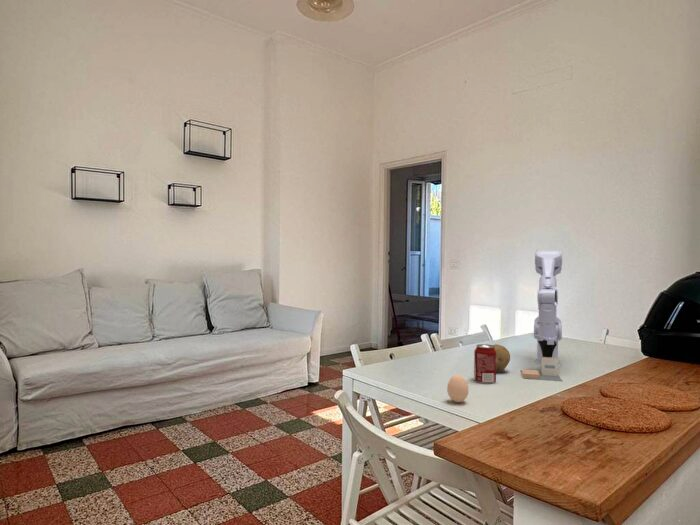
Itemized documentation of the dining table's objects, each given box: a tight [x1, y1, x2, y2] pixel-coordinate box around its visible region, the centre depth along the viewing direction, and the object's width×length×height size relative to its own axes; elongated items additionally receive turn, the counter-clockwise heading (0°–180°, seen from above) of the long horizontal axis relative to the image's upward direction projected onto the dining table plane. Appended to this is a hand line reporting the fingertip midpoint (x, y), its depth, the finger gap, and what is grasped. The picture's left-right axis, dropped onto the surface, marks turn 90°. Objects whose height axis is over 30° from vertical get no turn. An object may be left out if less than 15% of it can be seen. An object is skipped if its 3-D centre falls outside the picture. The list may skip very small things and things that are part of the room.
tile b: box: [540, 357, 559, 376], centre depth 156 cm, size 2×5×6 cm, turn 75°
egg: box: [446, 374, 469, 403], centre depth 127 cm, size 6×6×8 cm
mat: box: [519, 369, 564, 382], centre depth 155 cm, size 12×12×1 cm
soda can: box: [473, 343, 497, 385], centre depth 148 cm, size 7×7×12 cm
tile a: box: [521, 369, 540, 380], centre depth 154 cm, size 2×5×6 cm
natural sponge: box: [492, 344, 511, 373], centre depth 161 cm, size 9×9×10 cm
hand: (547, 361), depth 160 cm, fingers closed
